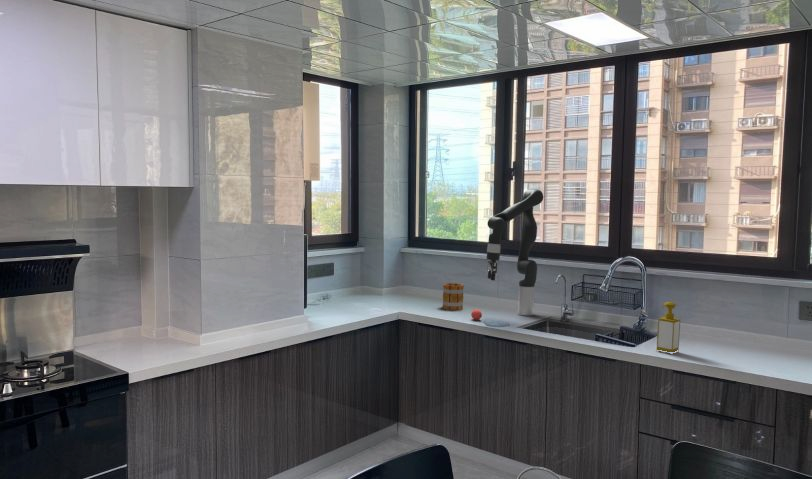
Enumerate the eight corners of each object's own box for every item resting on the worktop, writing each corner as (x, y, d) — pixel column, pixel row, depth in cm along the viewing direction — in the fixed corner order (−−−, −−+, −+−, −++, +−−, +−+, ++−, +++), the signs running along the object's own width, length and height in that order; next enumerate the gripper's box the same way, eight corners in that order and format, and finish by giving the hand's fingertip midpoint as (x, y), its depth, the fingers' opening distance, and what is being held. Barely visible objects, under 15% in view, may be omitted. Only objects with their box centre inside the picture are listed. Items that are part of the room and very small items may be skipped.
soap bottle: (651, 353, 279) (654, 302, 278) (662, 349, 288) (665, 300, 287) (667, 356, 274) (670, 305, 273) (678, 352, 283) (681, 302, 282)
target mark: (493, 320, 345) (493, 320, 345) (514, 324, 335) (514, 324, 335) (478, 323, 335) (478, 323, 335) (499, 327, 325) (499, 327, 325)
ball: (475, 318, 349) (475, 308, 349) (483, 320, 345) (484, 309, 345) (468, 319, 345) (469, 309, 344) (477, 321, 341) (477, 310, 340)
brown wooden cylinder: (459, 311, 371) (460, 286, 369) (438, 309, 376) (439, 285, 375) (468, 306, 389) (469, 283, 388) (448, 304, 394) (449, 281, 393)
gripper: (502, 253, 345) (500, 281, 346) (497, 251, 359) (494, 278, 360) (489, 252, 344) (487, 280, 345) (484, 250, 358) (482, 277, 359)
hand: (491, 279), depth 352 cm, fingers open, 8 cm apart
